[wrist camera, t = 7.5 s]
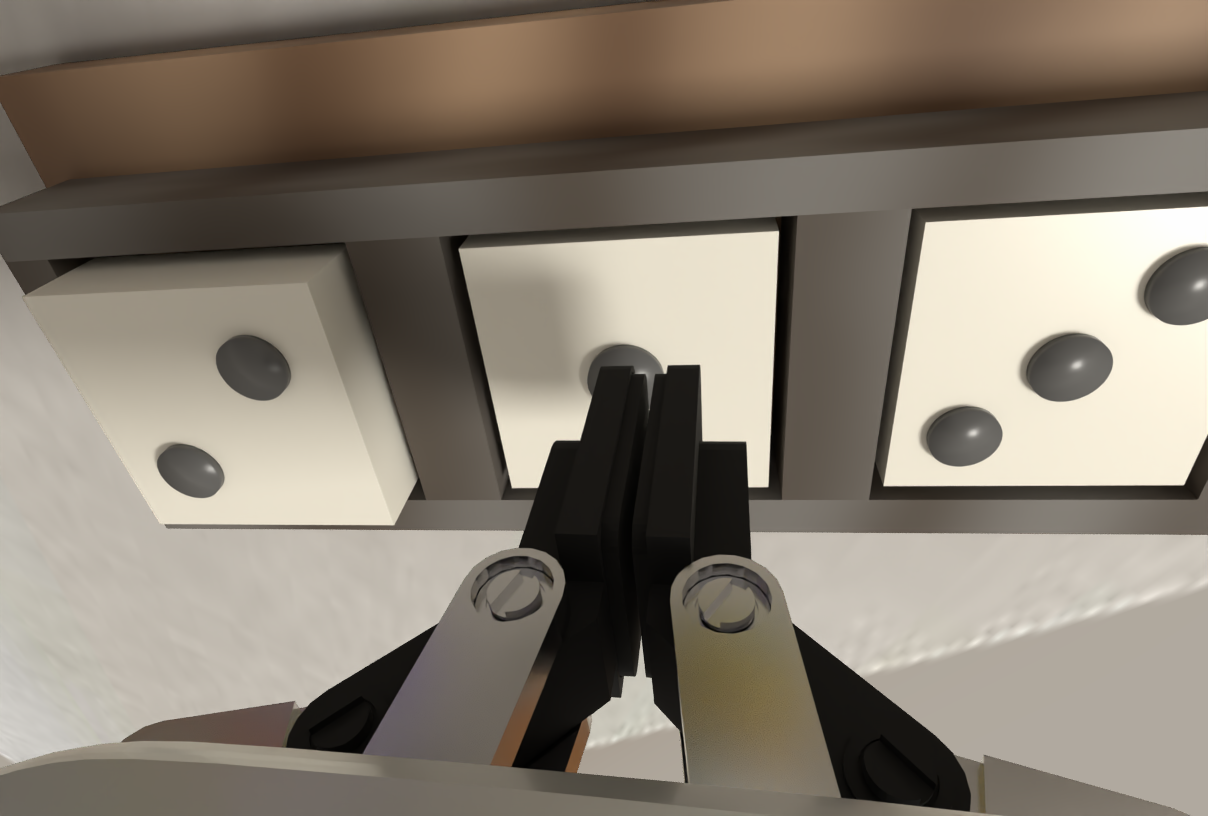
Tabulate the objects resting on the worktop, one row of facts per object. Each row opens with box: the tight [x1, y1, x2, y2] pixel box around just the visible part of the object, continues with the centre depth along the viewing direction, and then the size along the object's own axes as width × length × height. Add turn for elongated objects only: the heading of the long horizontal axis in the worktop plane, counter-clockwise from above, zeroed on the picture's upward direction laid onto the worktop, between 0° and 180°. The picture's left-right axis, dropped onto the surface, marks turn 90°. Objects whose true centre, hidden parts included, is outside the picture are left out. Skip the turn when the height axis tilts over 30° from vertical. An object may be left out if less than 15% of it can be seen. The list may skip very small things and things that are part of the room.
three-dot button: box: [875, 191, 1208, 486], centre depth 14 cm, size 6×6×2 cm
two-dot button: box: [22, 243, 419, 525], centre depth 15 cm, size 6×6×2 cm
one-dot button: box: [459, 217, 779, 488], centre depth 15 cm, size 6×6×2 cm
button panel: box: [0, 0, 1208, 535], centre depth 16 cm, size 27×13×4 cm, turn 96°
